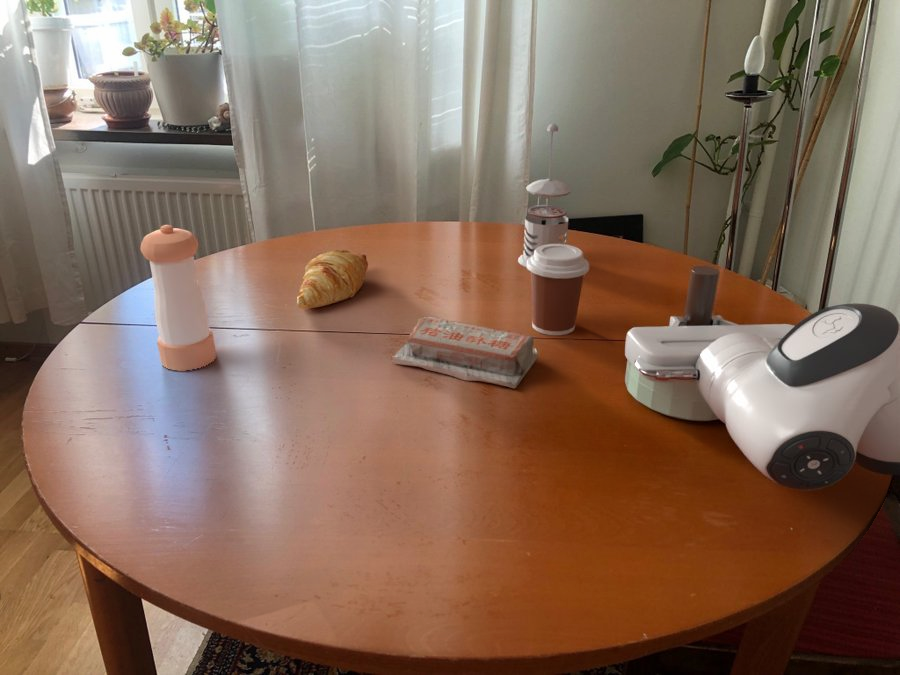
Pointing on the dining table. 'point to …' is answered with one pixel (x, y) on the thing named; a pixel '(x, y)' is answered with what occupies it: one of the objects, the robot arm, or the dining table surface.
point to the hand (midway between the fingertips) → (694, 321)
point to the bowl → (669, 397)
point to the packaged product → (468, 351)
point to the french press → (545, 214)
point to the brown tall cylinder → (701, 295)
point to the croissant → (331, 278)
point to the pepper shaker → (178, 300)
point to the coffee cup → (556, 287)
